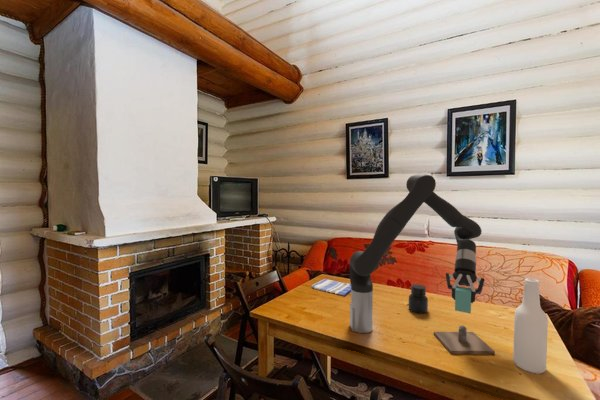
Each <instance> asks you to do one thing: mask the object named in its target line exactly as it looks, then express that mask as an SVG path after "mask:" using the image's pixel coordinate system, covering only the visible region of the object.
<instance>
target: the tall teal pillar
mask: <svg viewBox="0 0 600 400" xmlns="http://www.w3.org/2000/svg"><path fill="white" fill-rule="evenodd" d="M454 311H456V312H462V313H467V314H471V313H472V312H471V311H472V303H471V288H469V287H466V286H457V287H456V289H455V300H454Z"/></svg>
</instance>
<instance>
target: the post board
mask: <svg viewBox="0 0 600 400" xmlns="http://www.w3.org/2000/svg"><path fill="white" fill-rule="evenodd" d="M467 329H468V328H467V327H466V326H464V325H459V326H458V331H433V336H434V337H435V338H436V339H437V340H438V341H439V343H440V344H442V346H443V347H444V348H445V349H446V350H447V352H448V353H449V354H451V355H495V354H496V351H495V350H494V349H493V348H492V347H491V346H490V345H489V344H487V343H486V341H483V340H482V338H481V337H479V336H478V335H477V334H476V333H474V332H473V331H468V330H467Z"/></svg>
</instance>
